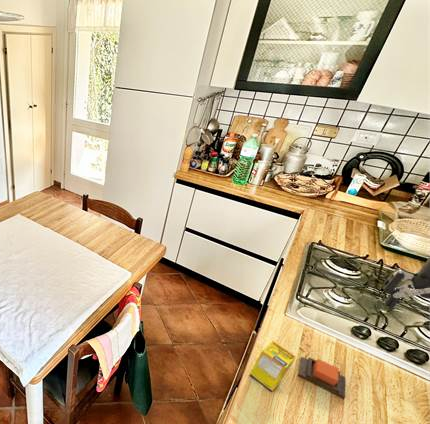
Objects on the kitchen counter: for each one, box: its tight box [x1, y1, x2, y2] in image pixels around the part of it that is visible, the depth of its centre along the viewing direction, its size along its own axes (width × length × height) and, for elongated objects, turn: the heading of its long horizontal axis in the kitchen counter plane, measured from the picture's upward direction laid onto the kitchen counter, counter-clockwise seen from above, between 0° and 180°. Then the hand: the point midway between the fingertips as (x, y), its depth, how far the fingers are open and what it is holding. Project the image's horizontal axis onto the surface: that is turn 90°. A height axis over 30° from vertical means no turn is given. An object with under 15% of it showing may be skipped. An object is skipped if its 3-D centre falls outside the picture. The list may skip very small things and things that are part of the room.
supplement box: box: [249, 340, 297, 393], centre depth 82 cm, size 6×6×11 cm
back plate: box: [297, 356, 346, 400], centre depth 85 cm, size 10×7×2 cm
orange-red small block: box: [312, 358, 339, 386], centre depth 84 cm, size 5×5×3 cm
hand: (413, 316), depth 71 cm, fingers open, 8 cm apart
